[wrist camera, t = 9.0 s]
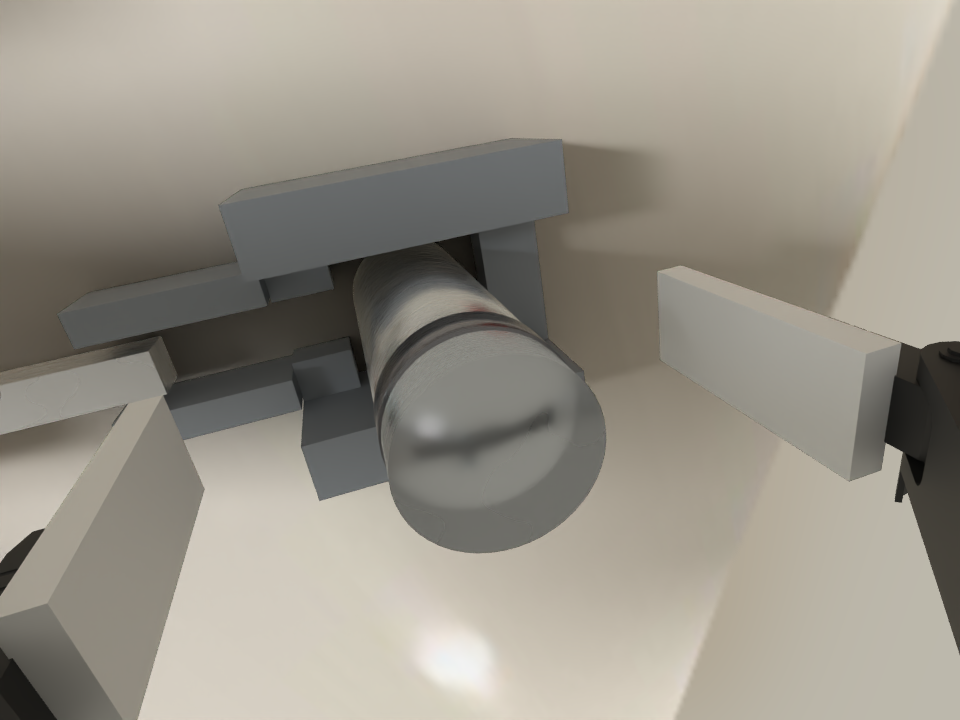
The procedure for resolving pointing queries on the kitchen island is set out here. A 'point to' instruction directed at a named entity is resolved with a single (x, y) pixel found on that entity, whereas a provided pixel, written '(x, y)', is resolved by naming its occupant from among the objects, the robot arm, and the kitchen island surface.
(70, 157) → the kitchen island surface
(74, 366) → the pin
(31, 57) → the kitchen island surface
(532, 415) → the grey cylinder
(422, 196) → the mount
